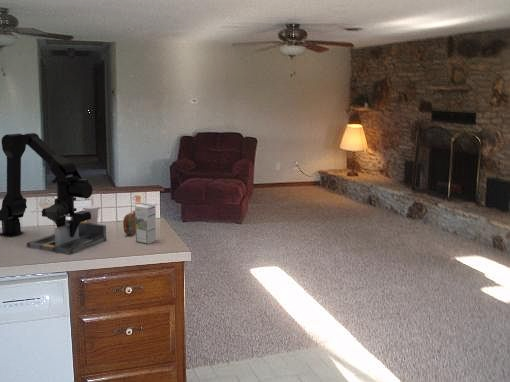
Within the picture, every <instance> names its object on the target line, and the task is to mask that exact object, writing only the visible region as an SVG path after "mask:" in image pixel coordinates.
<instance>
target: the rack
mask: <svg viewBox="0 0 510 382" xmlns="http://www.w3.org/2000/svg"><path fill="white" fill-rule="evenodd" d="M69 220H70V219H66V220H65V225H67V224H69V223H68V222H67V221H69ZM106 241H107V225H106V224H99V223H97V224H94V223H90V222H87V221H83V222H80V224H79V238H78V239H75V240H72V241H70V242H67V243H64V244H61V245H59V246H55V233H53V234H49V235H46V236H43V237H40V238H37V239H33V240H31V241H29V242H26V247H27V248H31V249H36V250H40V251H42V250H43V251H48V252H53V253H58V254H64V255H69V256H71V255H73V254H76V253H78V252H81V251H84V250H85V249H88V248H91V247H93V246H97V245H98V244H101V243H103V242H106ZM81 243H82V244H81Z"/></svg>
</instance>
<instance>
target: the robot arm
mask: <svg viewBox="0 0 510 382" xmlns="http://www.w3.org/2000/svg"><path fill="white" fill-rule="evenodd" d="M26 146H28V147H29V148H31V150H32V151H34V153H36V155H38V156H39V157H40V158H41V160H43V161H44V162H45V163H46V164H47V165H48V168H49V171H51V173H52V174H53V176H54V177H55V178H54V179H52V180H51V183H52V184H56V198H54V204H51V205H50V206H48V207H45V208H43V209H42V211H41V217H44V218H47V219H49V220H51V221H53V223H54V224H55V226H56V228H58V227H61V226H64V225H65V220H66V218H70V219H68V220H69V221H67V222H68V223H69V225H70V236H71V237H74V235H75V232H76V230H77V228H78V226H79V224H80V222H83V221H86V220H89V219H91V213H90V212H88V211H84V210H80V211H77V208H76V207H75V201H77V198H79V199H80V198H81V199H89V198H91V197H92V196H93V195H92V194H93V191H94V190H93V187H92V184H91V183H90V182H89V179H87V178H86V179H85V178H84V179H82V175H80V173H79V171H78V169H77V168H76V165H75V163H74V162H73V161H71V160H70V159H68V158H67V157H64V156H62V155H59V154H58V153H57V152H56V151H55V150H54V149H53V148H51V147H50V146H49V145H48V144H47V143H46V142H45V141H44V140H42V138H41V137H39V135H38V134H37V133H36V132H30V133H24V134H22V133H21V132H20V133H10V134H9V133H8V134H5V135H3V136H2V138H1V148H2V152H3V154H4V155H5V157H6V194H5V196H4V198H3V199H2V203H1V208H0V222H1V230H2V232H0V236H5V237H9V238H10V237H15V236H17V235H21V234H24V231H22V229H21V222H20V219H21V218H23V217H24V214H25V213H26V210H27V208H28V206H27V198H26V197H24V196H23V195H22V189H21V188H22V186H21V185H22V157H23V155H24V153H25V152H26V148H27V147H26Z"/></svg>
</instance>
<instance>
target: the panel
mask: <svg viewBox="0 0 510 382" xmlns="http://www.w3.org/2000/svg"><path fill="white" fill-rule="evenodd" d="M54 234H55V239H54V240H55V246H59V245H61V244H64V243H67V242H70V241H72V240H75V239H78V238H80V237H79V226H78V228H77V230H76V232H75V235H74V237H71V236H70V225H69V224H67V225H64V226H61V227H58V228H57V227H55V228H54Z"/></svg>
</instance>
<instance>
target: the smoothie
mask: <svg viewBox="0 0 510 382" xmlns="http://www.w3.org/2000/svg"><path fill="white" fill-rule="evenodd" d="M82 208H83V209H82V211H88V212H90V213H91V219H89V220H86V221H87V222H90V223H94V224H98V221H99V220H98V219H99V210H100V205H98V204H94V196H93V195H91V204H87V205H84V206H82Z"/></svg>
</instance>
